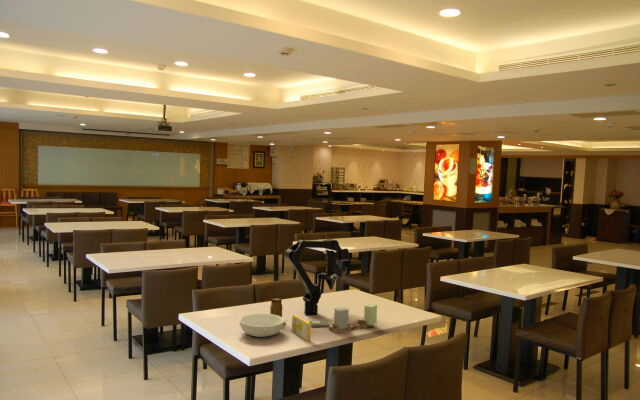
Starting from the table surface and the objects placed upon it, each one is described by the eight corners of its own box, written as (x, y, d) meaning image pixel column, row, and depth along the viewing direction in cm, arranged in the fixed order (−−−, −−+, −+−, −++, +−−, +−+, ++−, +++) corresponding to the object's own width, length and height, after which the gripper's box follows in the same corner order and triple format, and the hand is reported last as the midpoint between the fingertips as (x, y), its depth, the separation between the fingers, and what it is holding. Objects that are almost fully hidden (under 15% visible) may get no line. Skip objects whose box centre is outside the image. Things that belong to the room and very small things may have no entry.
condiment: (270, 320, 251) (270, 297, 251) (286, 320, 251) (287, 297, 251) (268, 324, 244) (269, 300, 244) (285, 324, 244) (285, 301, 244)
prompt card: (309, 327, 240) (310, 324, 240) (307, 323, 247) (307, 320, 247) (329, 327, 242) (329, 323, 242) (327, 322, 249) (327, 319, 249)
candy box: (311, 341, 221) (311, 323, 221) (307, 341, 220) (307, 323, 220) (295, 330, 235) (295, 313, 235) (291, 331, 234) (291, 314, 234)
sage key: (363, 323, 242) (364, 305, 242) (369, 321, 247) (369, 303, 246) (371, 325, 240) (371, 307, 239) (376, 322, 244) (377, 304, 244)
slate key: (333, 327, 236) (334, 308, 236) (343, 325, 239) (344, 307, 238) (338, 329, 232) (338, 310, 232) (348, 327, 235) (348, 309, 235)
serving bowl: (250, 344, 215) (250, 329, 215) (232, 331, 233) (232, 316, 232) (291, 336, 226) (292, 322, 226) (271, 324, 244) (271, 311, 244)
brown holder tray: (338, 334, 230) (338, 327, 230) (327, 329, 237) (327, 322, 237) (376, 325, 245) (376, 318, 245) (364, 321, 252) (365, 314, 252)
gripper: (334, 265, 257) (334, 295, 258) (352, 261, 272) (352, 288, 273) (317, 263, 264) (316, 291, 264) (336, 258, 279) (335, 285, 280)
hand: (331, 289), depth 270 cm, fingers closed
